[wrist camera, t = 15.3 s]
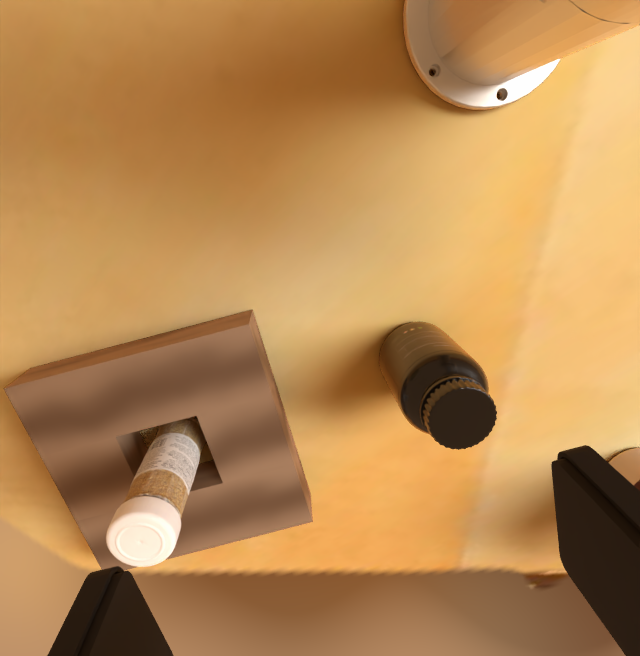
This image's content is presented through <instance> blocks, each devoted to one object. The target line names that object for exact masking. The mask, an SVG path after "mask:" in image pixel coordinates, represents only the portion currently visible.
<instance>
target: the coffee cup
mask: <svg viewBox="0 0 640 656" xmlns="http://www.w3.org/2000/svg"><path fill="white" fill-rule="evenodd" d="M609 464H610V465H611V466H612V467H614V468H615V469H616V470H617V471H618V472H619V473H620V474H621V475H623V476H624V477H625V478H626V479H627V480H628V481H629V482H630V483H632V484H633V485H634V486H635V487H636V488H637V489H638V490H639V491H640V448H634V449H629V450H626V451H624V452H622V453H620V454H618V455H617V456H615V457H614V458H613V459H612V460H611V461H609Z"/></svg>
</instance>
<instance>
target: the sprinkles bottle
mask: <svg viewBox="0 0 640 656" xmlns="http://www.w3.org/2000/svg"><path fill="white" fill-rule="evenodd" d="M205 442H206V439H205V436H204V433H203V431H202V428H201V426H200V423H199V421H198V420H197V419H196V418H194V417H190V418H186V419H182V420H178V421H174V422H170V423H167V424H163V425H160V426H159V428H158V431H157V435H156V437H155V439H154V441H153V442H152V444H151V445H150V447H149V449H148V451H147V453H146V455H145V457H144V459H143V461H142V463H141V465H140V467H139V469H138V471H137V473H136V475H135V477H134V479H133V481H132V484H131V487H130V489H129V492H128V494H127V496H126V498H125V500H124V502H123V503H122V504H121V505H120V507H119V508H118V509H117V511H116V512H115V514H114V517H113V519H112V521H111V523H110V525H109V527H108V530H107V534H106V543H107V546H108V548H109V550H110V552H111V553H112V554H113V556H114V557H116V558H117V559H118V560H119V561H121V562H123V563H125V564H128V565H131V566H137V567H147V566H153V565H156V564H158V563H160V562H162V561H164V560H165V559H166V558H168V557H169V556H170V554H171V553H172V552H173V550H174V548H175V545H176V542H177V539H178V536H179V533H180V529H181V517H182V513H183V510H184V507H185V504H186V501H187V498H188V495H189V492H190V489H191V486H192V484H193V481H194V477H195V474H196V470H197V467H198V464H199V460H200V454H201V451H202V448H203V447H204V444H205Z"/></svg>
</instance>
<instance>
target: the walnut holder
mask: <svg viewBox="0 0 640 656" xmlns="http://www.w3.org/2000/svg"><path fill="white" fill-rule="evenodd" d="M4 390H5V392H6V394H7V396H8V398H9V400H10V401H11V403H12V405H13V407H14V409H15V411H16V412H17V414H18V416H19V418H20V420H21V422H22V423H23V425H24V427H25V429H26V431H27V433H28V434H29V436H30V438H31V440H32V442H33V444H34V445H35V447H36V449H37V451H38V453H39V455H40V456H41V458H42V460H43V462H44V464H45V466H46V468H47V469H48V471H49V473H50V475H51V477H52V479H53V480H54V482H55V484H56V486H57V488H58V490H59V491H60V493H61V495H62V497H63V499H64V501H65V502H66V504H67V506H68V508H69V510H70V512H71V513H72V515H73V517H74V519H75V521H76V523H77V524H78V526H79V528H80V530H81V532H82V534H83V535H84V537H85V539H86V541H87V543H88V545H89V546H90V548H91V550H92V552H93V554H94V556H95V558H96V559H97V561H98V563H99V565H100V567H101V569H102V570H103V569H107V568H111V567H115V566H119V567H121V568H122V569H123V570H127V569H131V568H135V567H137V566H131V565H128V564H125V563H123V562H121V561H119V560H118V559H117V558H116V557H114V556H113V554H112V553H111V552H110V550H109V548H108V546H107V543H106V534H107V530H108V527H109V525H110V523H111V521H112V519H113V517H114V514H115V512H116V511H117V509H118V508H119V507H120V505H121V504H122V503H123V502H124V500H125V498H126V496H127V494H128V492H129V489H130V487H131V484H132V481H133V479H134V477H135V475H136V473H137V471H138V469H139V467H140V465H141V463H142V461H143V459H144V457H145V455H146V453H147V451H148V450H147V448H146V445H145V443H144V441H143V439H142V437H141V434H140V432H139V431H140V430H144V429H147V428H151V427H155V426H159V425H163V424H167V423H170V422H174V421H178V420H182V419H186V418H190V417H193V416H197V418H198V421H199V423H200V426H201V428H202V431H203V433H204V436H205V439H206V441H207V444H208V446H209V449H210V451H211V454H212V456H213V459H214V460H213V461H209V462H205V463H201V464H198V467H197V470H196V474H195V477H194V481H193V484H192V486H191V489H190V492H189V495H188V498H187V501H186V504H185V507H184V510H183V513H182V517H181V529H180V533H179V536H178V539H177V542H176V545H175V548H174V550H173V552H172V553H171V554H170V556H169V557H168V558H166V559H170V558H174V557H178V556H182V555H186V554H189V553H193V552H197V551H201V550H205V549H209V548H213V547H217V546H220V545H224V544H228V543H232V542H236V541H240V540H244V539H248V538H252V537H255V536H259V535H263V534H267V533H271V532H275V531H279V530H283V529H286V528H290V527H294V526H298V525H302V524H306V523H310V522H313V520H312V507H311V494H310V490H309V487H308V484H307V481H306V478H305V474H304V471H303V468H302V465H301V462H300V459H299V455H298V452H297V449H296V446H295V443H294V440H293V436H292V433H291V430H290V427H289V424H288V421H287V417H286V414H285V411H284V408H283V405H282V402H281V398H280V395H279V392H278V389H277V386H276V383H275V379H274V376H273V373H272V370H271V367H270V364H269V360H268V357H267V354H266V351H265V348H264V345H263V341H262V338H261V335H260V332H259V329H258V326H257V323H256V319H255V316H254V313H253V310H250V311H246V312H242V313H238V314H234V315H231V316H227V317H223V318H219V319H215V320H212V321H208V322H204V323H200V324H196V325H193V326H189V327H185V328H181V329H177V330H174V331H170V332H166V333H162V334H159V335H155V336H151V337H147V338H143V339H140V340H136V341H132V342H128V343H124V344H121V345H117V346H113V347H109V348H105V349H102V350H98V351H94V352H90V353H86V354H83V355H79V356H75V357H71V358H68V359H64V360H60V361H56V362H52V363H49V364H45V365H41V366H37V367H33V368H30V369H29V370H28V371H26V372H25V373H24V374H22V375H21V376H20V377H18V378H17V379H16V380H14V381H13V382H12V383H10V384H9V385H8V386H7V387H5V388H4ZM166 559H165V560H166Z"/></svg>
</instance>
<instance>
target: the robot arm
mask: <svg viewBox="0 0 640 656" xmlns="http://www.w3.org/2000/svg"><path fill="white" fill-rule="evenodd" d="M639 25H640V0H405V3H404V9H403V29H404V35H405V41H406V47H407V50H408V53H409V56H410V59H411V61H412V64H413V66H414V68H415V69H416V71H417V73H418V75H419V76H420V78H421V79H422V81H423V82H424V83H425V84H426V85H427V86H428V88H429V89H430V90H431V91H432V92H434V93H435V94H436V95H438V96H439V97H440V98H441V99H443V100H444V101H447V102H449V103H451V104H453V105H455V106H457V107H462V108H466V109H471V110H488V109H492V108H497V107H502V106H504V105H507V104H510V103H513V102H515V101H517V100H519V99H521V98H523V97H524V96H526V95H528V94H529V93H531V92H532V91H533V90H534V89H536V88H537V87H538V86H539V85H541V84H542V83H543V82H544V81H545V79H546V78H547V77H548V76H549V75H550V74H551V73H552V71H553V70H554V69H555V67H556V66H557V64H558V63H559V61H560V60H561V58H563V57H566V56H568V55H570V54H573V53H575V52H577V51H580V50H582V49H585V48H587V47H589V46H592V45H594V44H596V43H599V42H601V41H603V40H606V39H608V38H611V37H613V36H615V35H618V34H620V33H622V32H625V31H627V30H629V29H632V28H634V27H636V26H639ZM429 70H433V71H434V76H430V74H429ZM497 93H499V95H500V98H499V99H497V96H496V95H497ZM552 477H553V488H554V498H555V509H556V520H557V531H558V541H559V552H560V558H561V561H562V563H563V566H564V568H565V570H566V571H567V573H568V575H569V576H570V577H571V579H572V580H573V582H574V583H575V584H576V586H577V587H578V589H579V590H580V591H581V593H582V594H583V596H584V597H585V599H586V600H587V601H588V603H589V604H590V606H591V607H592V609H593V610H594V611H595V613H596V614H597V616H598V617H599V618H600V620H601V621H602V623H603V624H604V625H605V627H606V628H607V630H608V631H609V632H610V634H611V635H612V637H613V638H614V640H615V641H616V642H617V644H618V645H619V647H620V648H621V649H622V651H623V652H624V654H625V655H626V656H640V491H639V490H638V489H637V488H636V487H635V486H634V485H633V484H632V483H630V482H629V481H628V480H627V479H626V478H625V477H624V476H623V475H621V474H620V473H619V472H618V471H617V470H616V469H615V468H614V467H612V466H611V465H610V464H609V463H608V462H607V461H606V460H605V459H603V458H602V457H601V456H600V455H599V454H598V453H597V452H596V451H594V450H593V449H592V448H591V447H589V446H586V445H585V446H581V447H577V448H573V449H569V450H565V451H562V452H559V454H558V460H556V461H553V462H552ZM48 656H173V654H172V651H171V650H170V647H169V645H168V644H167V642H166V640H165V638H164V636H163V634H162V632H161V630H160V628H159V626H158V624H157V622H156V620H155V618H154V617H153V615H152V613H151V611H150V609H149V607H148V605H147V603H146V601H145V599H144V597H143V595H142V594H141V591H140V590H139V588H138V586H137V584H136V582H135V580H134V578H133V576H132V574H131V573H130V572H129V571H124V570H123V569H122V568H121V567H119V566H115V567H111V568H107V569H103V570H99V571H95V572H92V573H90V574H89V575H88V576H87V578H86V579H85V581H84V583H83V585H82V587H81V589H80V591H79V593H78V595H77V597H76V600H75V601H74V603H73V605H72V607H71V609H70V611H69V613H68V615H67V617H66V619H65V621H64V624H63V626H62V627H61V629H60V632H59V634H58V636H57V638H56V640H55V642H54V644H53V646H52V648H51V650H50V652H49V654H48Z"/></svg>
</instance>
